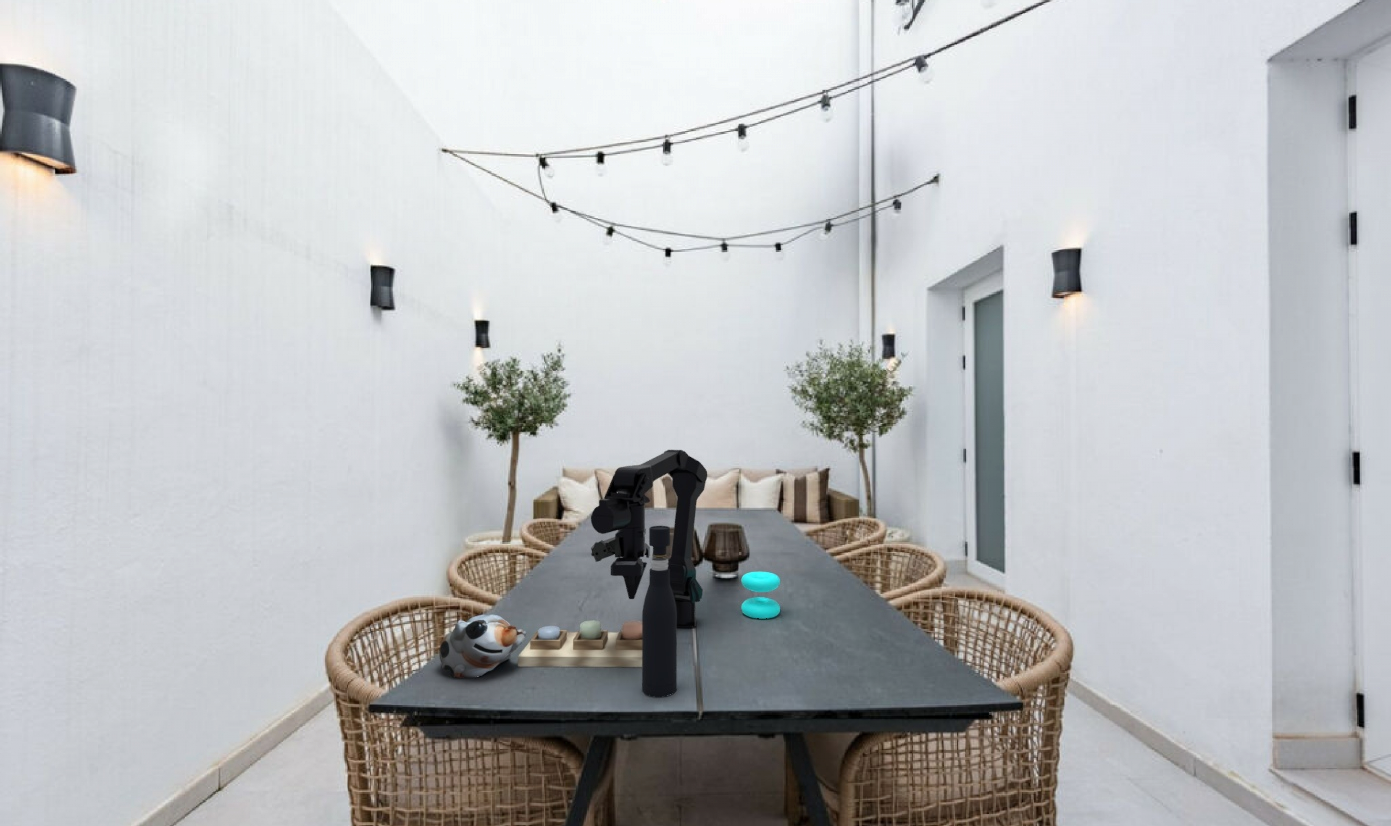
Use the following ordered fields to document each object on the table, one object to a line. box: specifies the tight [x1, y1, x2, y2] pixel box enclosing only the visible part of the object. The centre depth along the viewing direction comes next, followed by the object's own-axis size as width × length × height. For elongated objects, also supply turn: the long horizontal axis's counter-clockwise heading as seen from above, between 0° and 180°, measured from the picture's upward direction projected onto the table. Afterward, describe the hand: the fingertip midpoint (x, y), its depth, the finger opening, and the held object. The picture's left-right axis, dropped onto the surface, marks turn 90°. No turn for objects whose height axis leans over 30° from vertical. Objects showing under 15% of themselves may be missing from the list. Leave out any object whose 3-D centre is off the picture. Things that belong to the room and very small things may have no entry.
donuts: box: [740, 571, 781, 620], centre depth 155 cm, size 10×10×10 cm
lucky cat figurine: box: [438, 614, 527, 678], centre depth 120 cm, size 15×12×14 cm
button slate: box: [537, 625, 561, 640], centre depth 128 cm, size 4×4×2 cm
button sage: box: [579, 619, 602, 639], centre depth 128 cm, size 4×4×2 cm
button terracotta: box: [621, 620, 642, 640], centre depth 128 cm, size 4×4×2 cm
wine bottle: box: [641, 525, 678, 698], centre depth 111 cm, size 6×6×30 cm
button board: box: [517, 629, 642, 668], centre depth 128 cm, size 27×14×4 cm, turn 89°
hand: (631, 598), depth 128 cm, fingers closed
